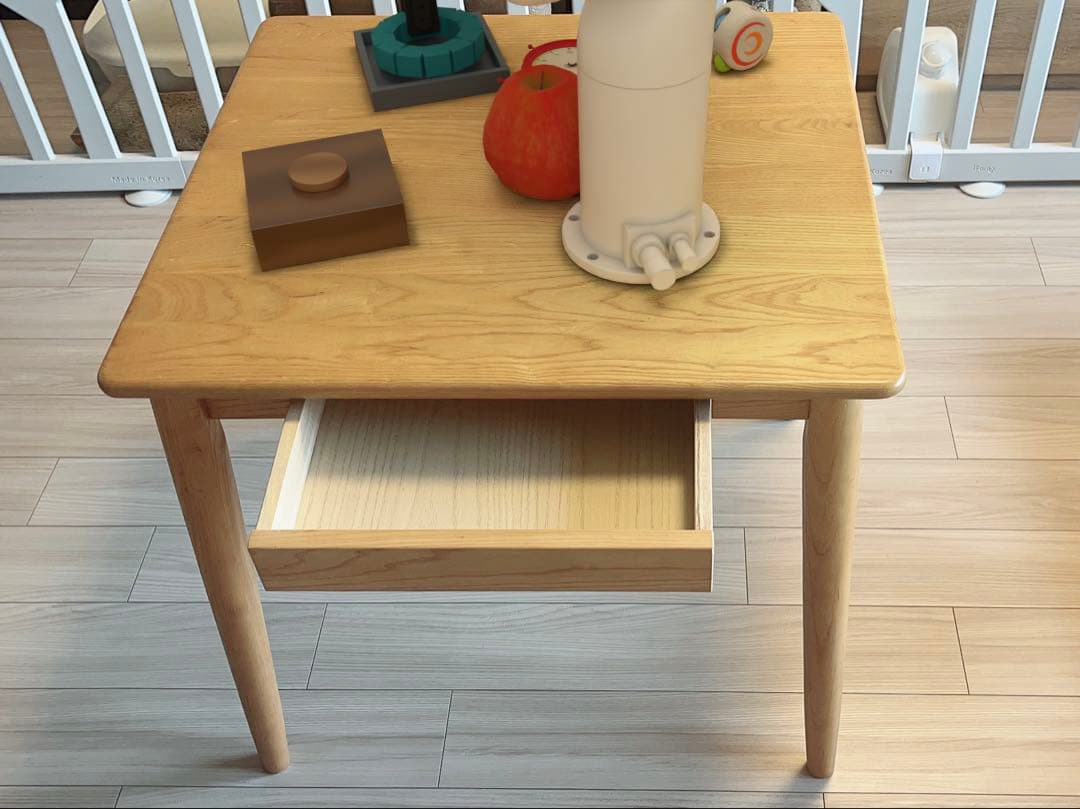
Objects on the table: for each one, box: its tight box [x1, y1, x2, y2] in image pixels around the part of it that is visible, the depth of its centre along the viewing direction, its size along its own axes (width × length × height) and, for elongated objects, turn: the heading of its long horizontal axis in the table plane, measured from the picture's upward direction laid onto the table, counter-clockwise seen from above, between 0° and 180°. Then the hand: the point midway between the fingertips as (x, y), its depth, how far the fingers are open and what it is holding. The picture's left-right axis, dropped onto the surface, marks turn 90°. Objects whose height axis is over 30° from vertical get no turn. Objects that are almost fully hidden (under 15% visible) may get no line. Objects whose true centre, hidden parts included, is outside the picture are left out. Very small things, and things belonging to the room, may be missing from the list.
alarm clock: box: [498, 38, 577, 83], centre depth 105 cm, size 10×6×15 cm
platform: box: [241, 128, 411, 272], centre depth 93 cm, size 12×12×5 cm
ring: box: [371, 6, 485, 78], centre depth 111 cm, size 11×11×2 cm
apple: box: [482, 64, 580, 201], centre depth 93 cm, size 10×10×10 cm
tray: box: [352, 10, 511, 112], centre depth 112 cm, size 13×13×2 cm
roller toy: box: [712, 0, 774, 73], centre depth 109 cm, size 4×6×6 cm
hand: (421, 25), depth 114 cm, fingers closed on ring, 2 cm apart
